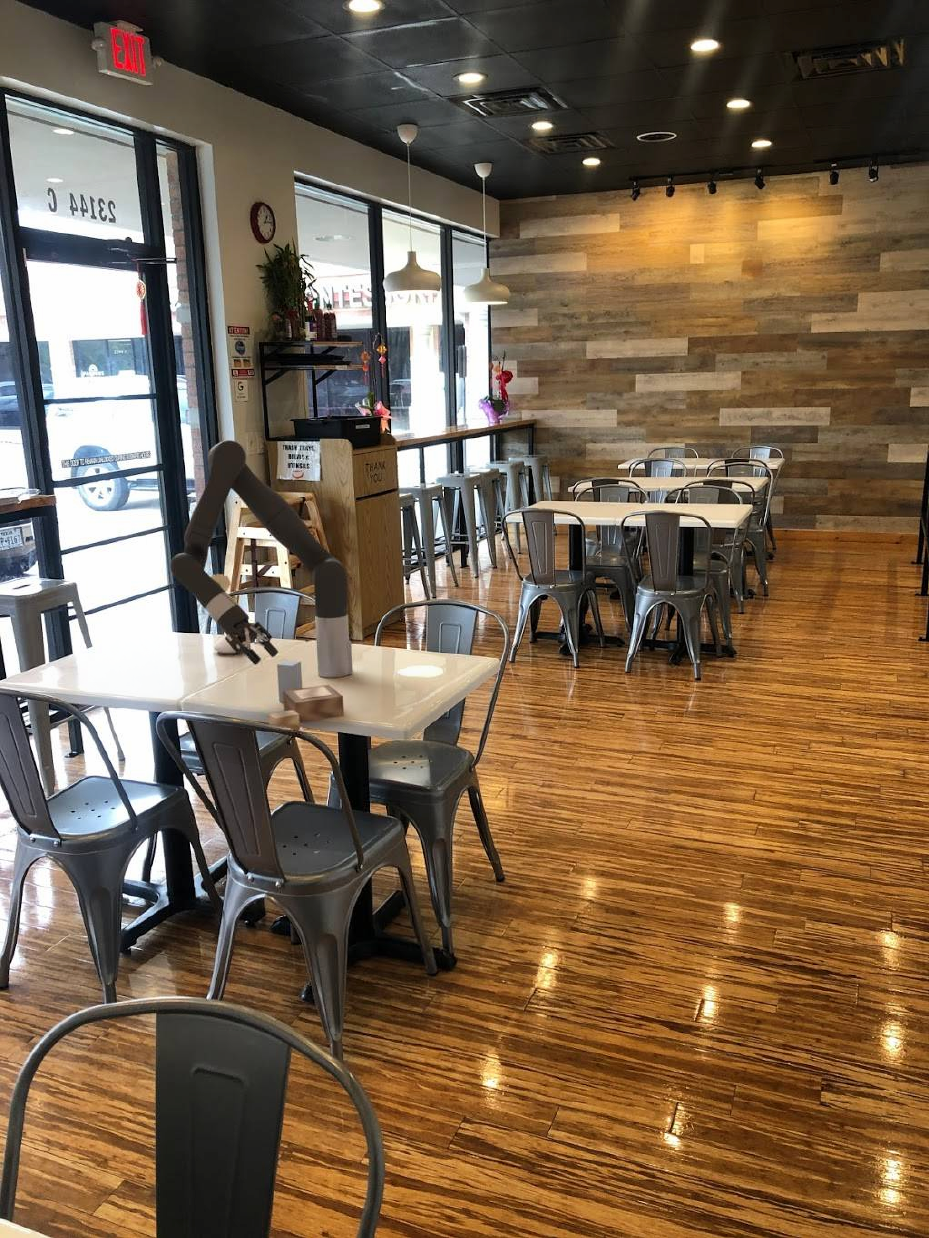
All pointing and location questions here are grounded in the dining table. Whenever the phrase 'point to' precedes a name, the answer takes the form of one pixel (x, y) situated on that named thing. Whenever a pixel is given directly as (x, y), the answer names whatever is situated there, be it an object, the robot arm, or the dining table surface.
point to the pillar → (289, 676)
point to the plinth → (314, 702)
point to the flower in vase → (222, 643)
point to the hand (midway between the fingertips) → (267, 658)
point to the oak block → (285, 719)
